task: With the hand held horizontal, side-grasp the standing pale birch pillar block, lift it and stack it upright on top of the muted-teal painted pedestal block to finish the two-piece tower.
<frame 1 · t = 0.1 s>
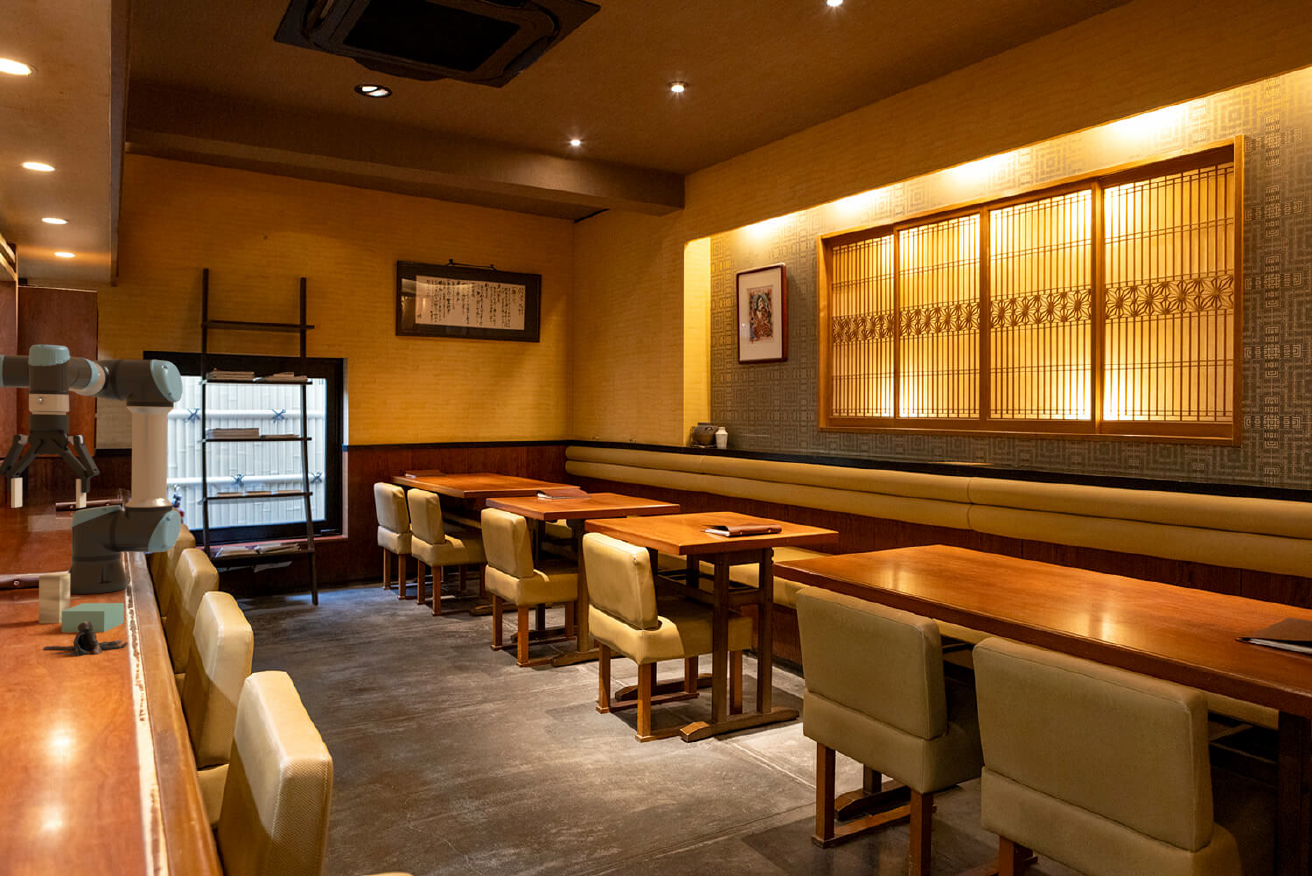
hand: (49, 507, 199), 28 cm above the bar counter, tool pointing down, fingers open, 13 cm apart
pedestal: (93, 628, 203), on the bar counter
pillar: (54, 621, 208), on the bar counter
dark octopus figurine: (84, 652, 184), on the bar counter
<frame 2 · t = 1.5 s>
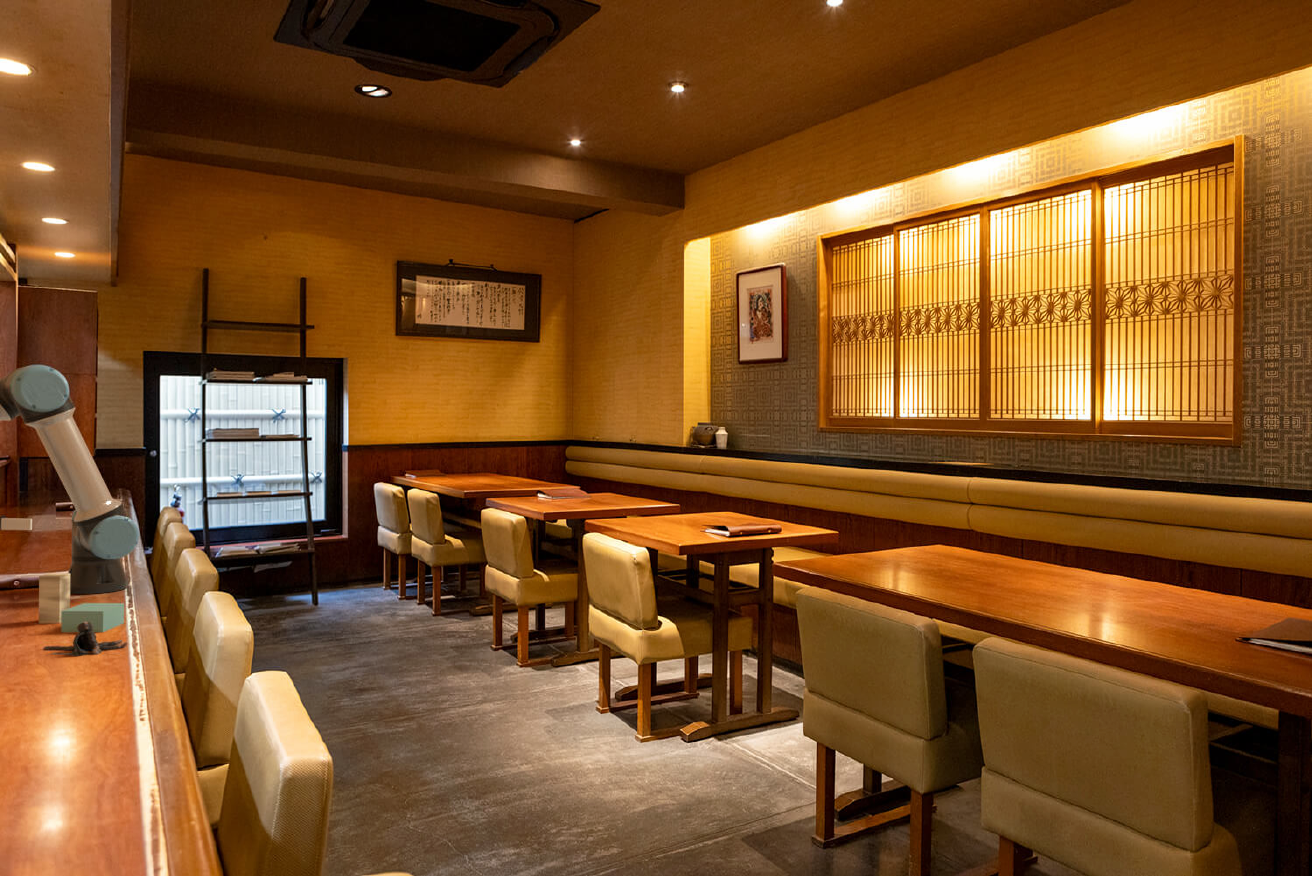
hand: (15, 527, 207), 22 cm above the bar counter, tool horizontal, fingers open, 13 cm apart
nothing on the bar counter moved.
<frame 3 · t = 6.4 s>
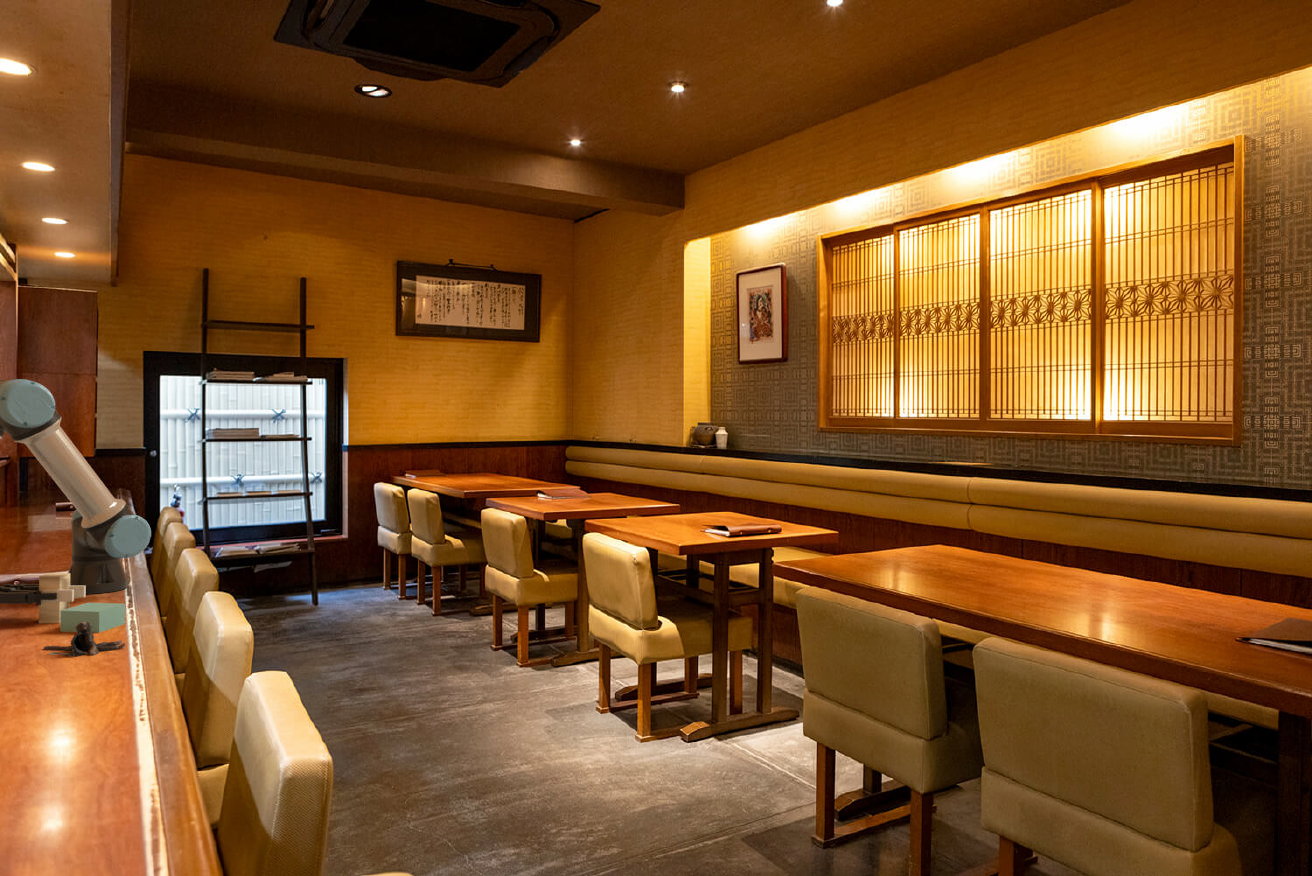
hand: (78, 593, 209), 7 cm above the bar counter, tool horizontal, fingers closed on pillar, 4 cm apart
pillar: (54, 621, 208), on the bar counter, touching gripper
everything else where it was.
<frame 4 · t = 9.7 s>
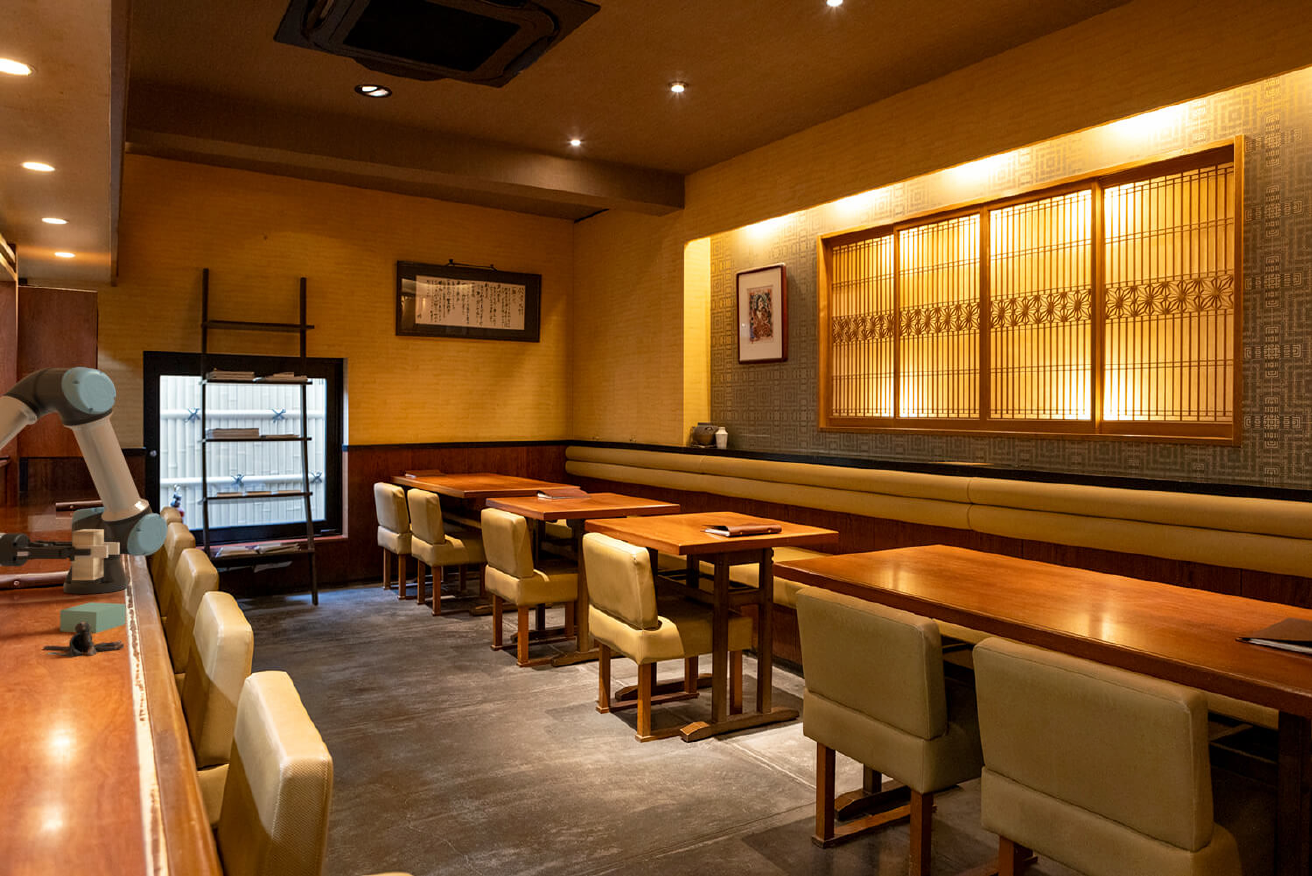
hand: (112, 550, 203), 18 cm above the bar counter, tool horizontal, fingers closed on pillar, 4 cm apart
pillar: (87, 578, 202), point 11 cm above the bar counter, touching gripper
everything else where it was.
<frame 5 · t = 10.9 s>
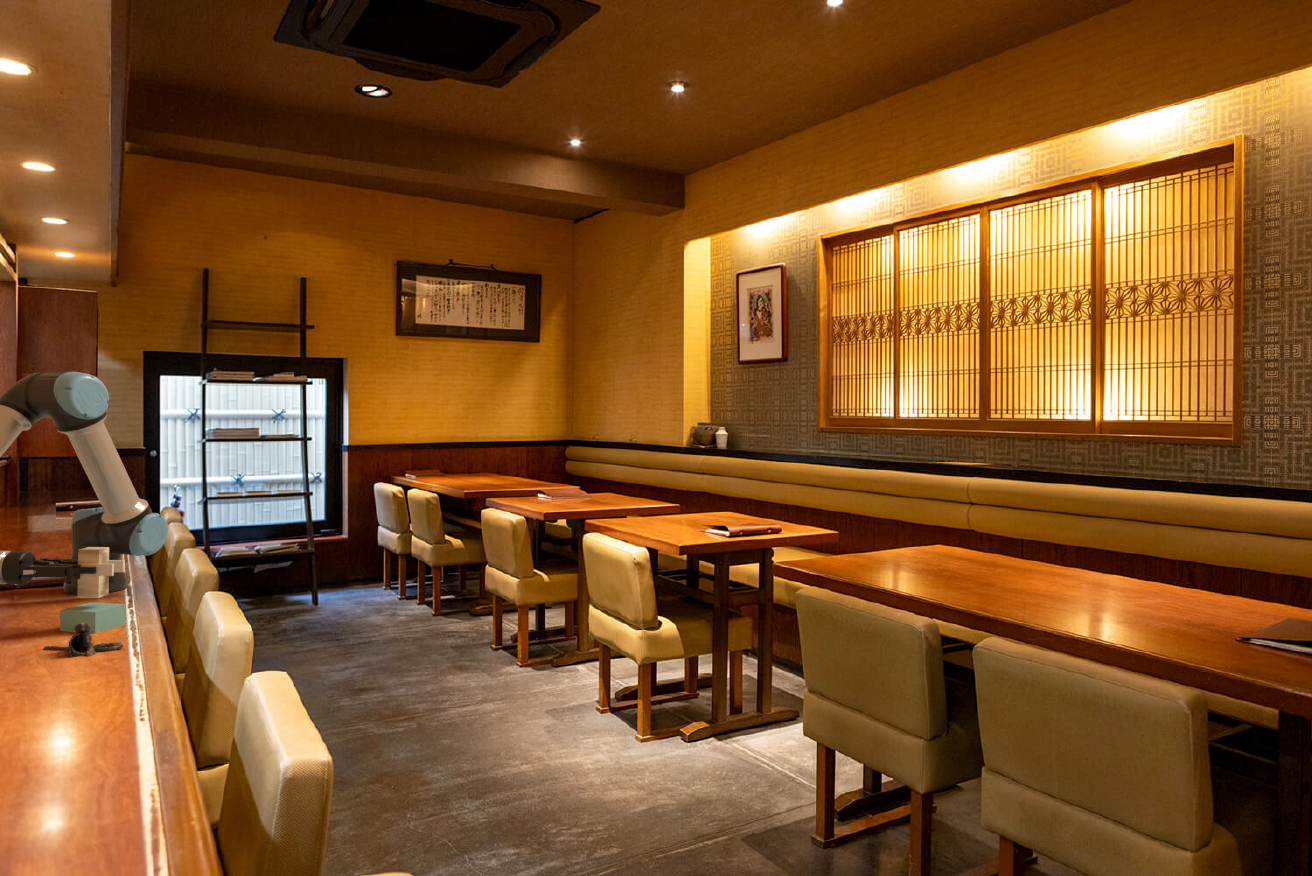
hand: (118, 568, 203), 14 cm above the bar counter, tool horizontal, fingers closed on pillar, 4 cm apart
pillar: (93, 596, 203), point 7 cm above the bar counter, touching gripper
everything else where it was.
when the fingers open (13 cm above the bar counter, at t = 11.3 s): pillar drops 2 cm, point 5 cm above the bar counter.
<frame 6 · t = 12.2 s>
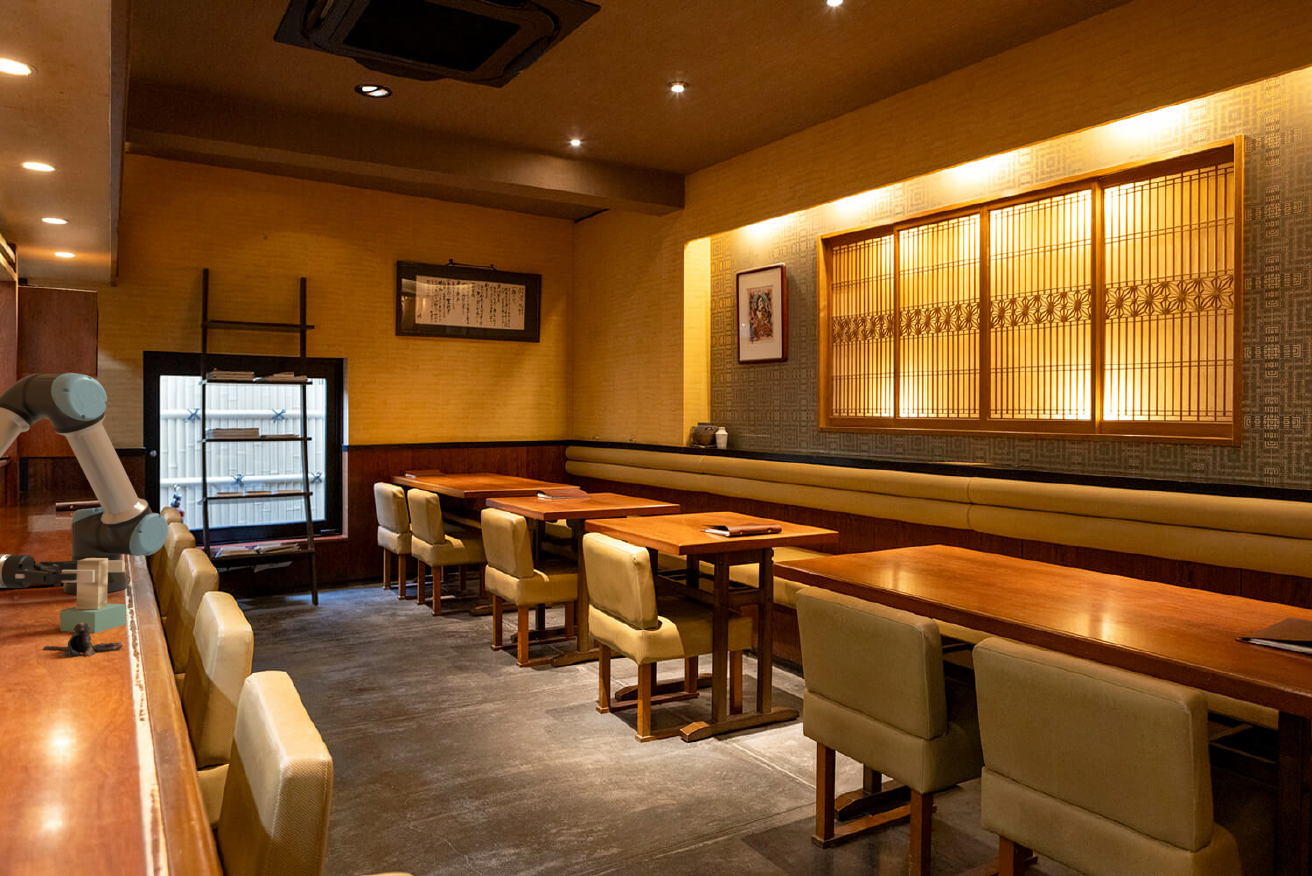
hand: (109, 571, 203), 13 cm above the bar counter, tool horizontal, fingers open, 13 cm apart
pillar: (91, 607, 202), point 5 cm above the bar counter
everything else where it was.
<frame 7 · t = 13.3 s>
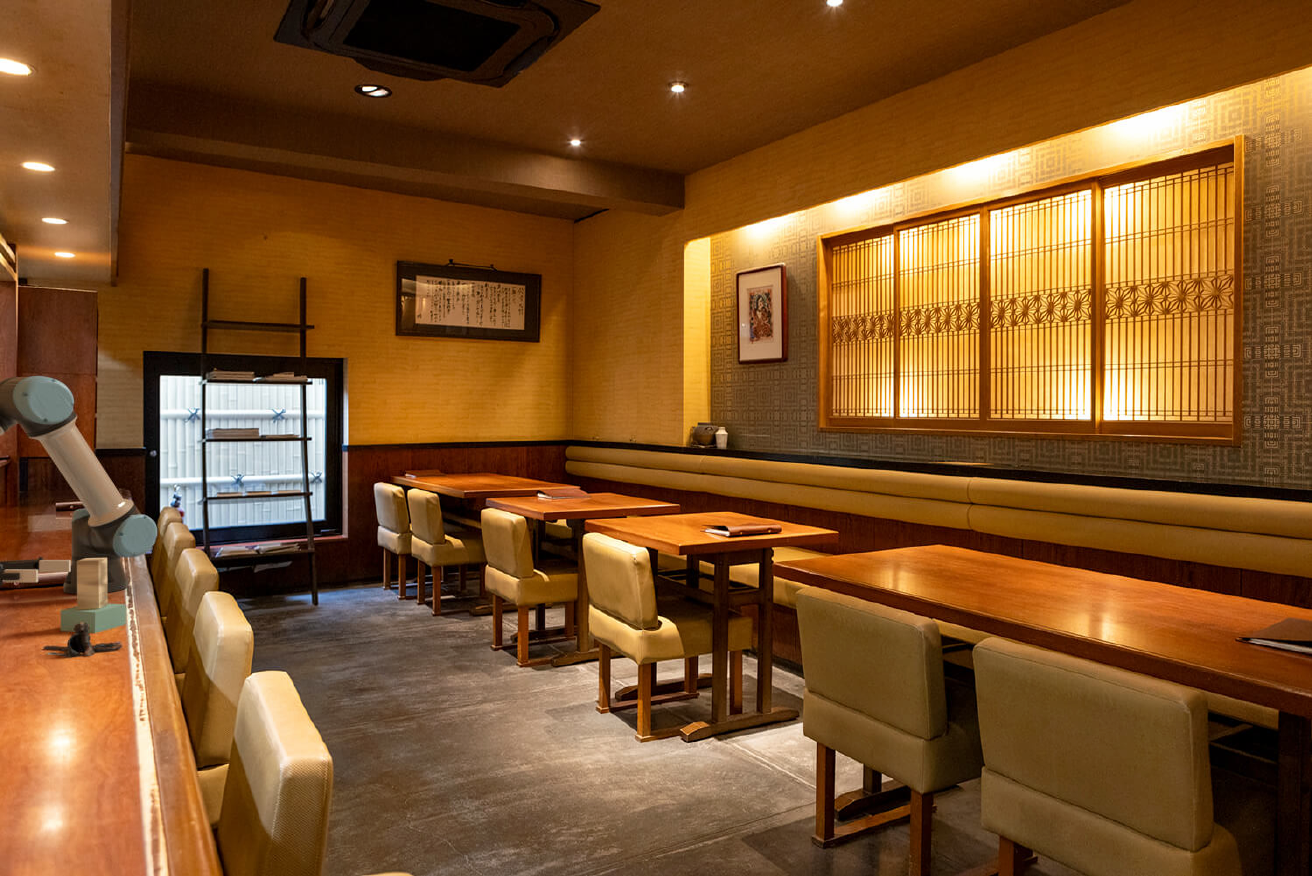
hand: (54, 570, 202), 13 cm above the bar counter, tool horizontal, fingers open, 13 cm apart
pedestal: (93, 628, 203), on the bar counter, touching pillar
pillar: (92, 607, 203), point 5 cm above the bar counter, touching pedestal
everything else where it was.
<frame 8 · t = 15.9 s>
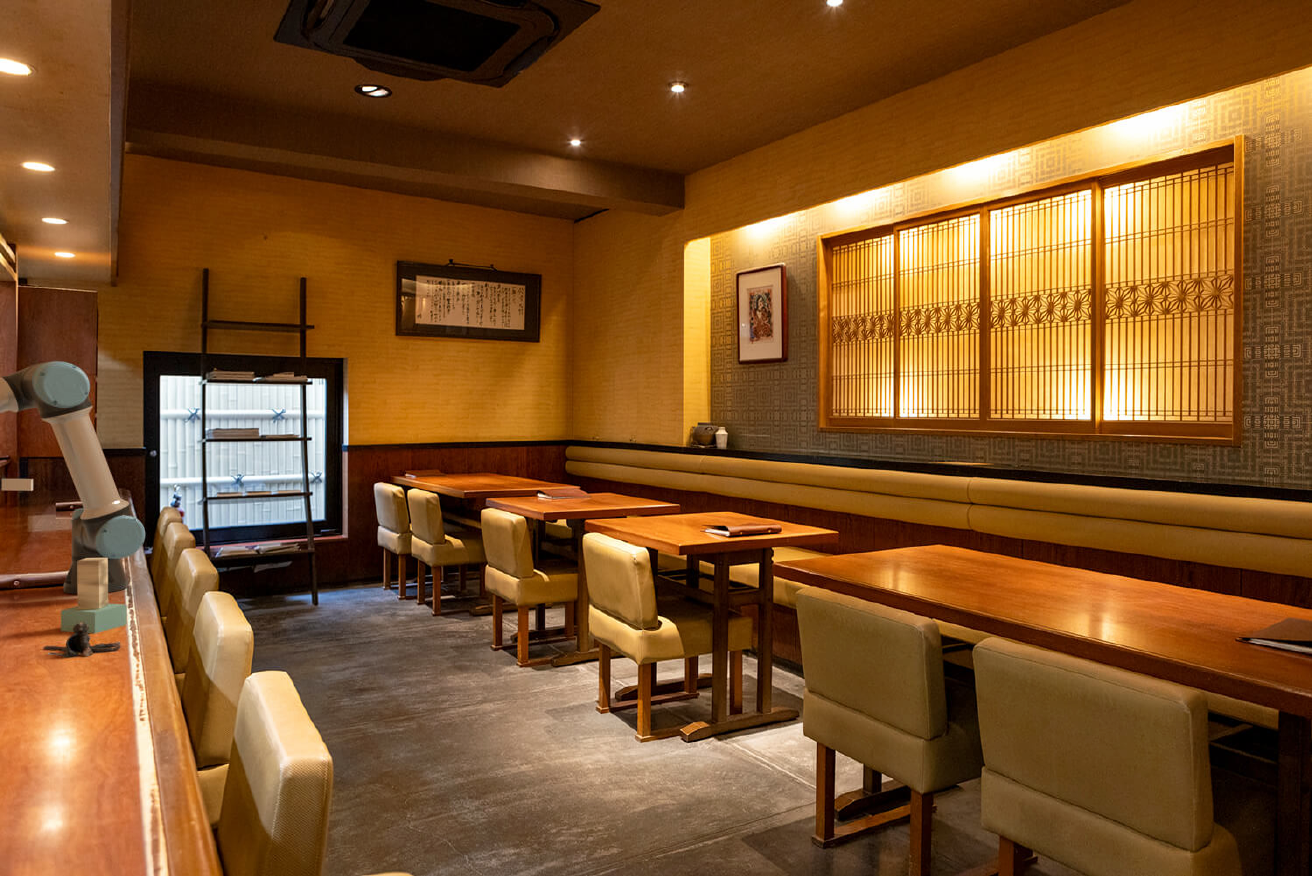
hand: (15, 486, 203), 32 cm above the bar counter, tool horizontal, fingers open, 13 cm apart
pedestal: (94, 629, 203), on the bar counter
pillar: (93, 607, 203), point 5 cm above the bar counter
at the end: pillar inside the target area on the pedestal (0.3 cm from its centre), point 5.1 cm above the pedestal's base; pillar tilted 1°; the gripper is holding nothing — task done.
